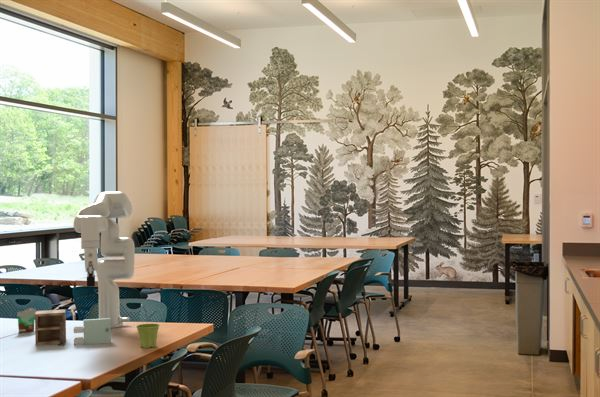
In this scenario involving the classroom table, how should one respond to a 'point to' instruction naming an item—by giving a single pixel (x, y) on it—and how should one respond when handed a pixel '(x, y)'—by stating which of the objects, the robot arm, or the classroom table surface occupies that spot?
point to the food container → (26, 320)
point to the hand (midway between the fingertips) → (90, 285)
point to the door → (94, 331)
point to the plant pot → (148, 334)
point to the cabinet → (50, 327)
